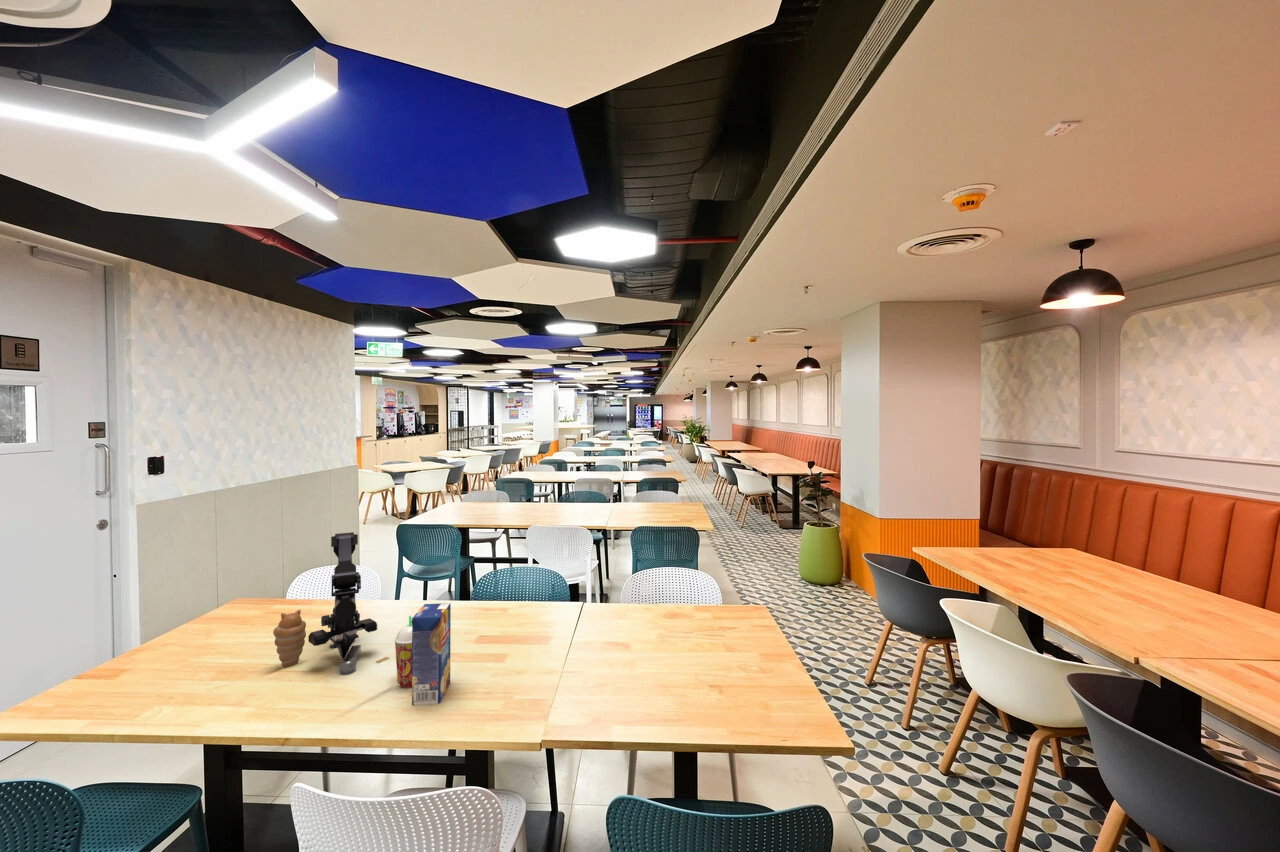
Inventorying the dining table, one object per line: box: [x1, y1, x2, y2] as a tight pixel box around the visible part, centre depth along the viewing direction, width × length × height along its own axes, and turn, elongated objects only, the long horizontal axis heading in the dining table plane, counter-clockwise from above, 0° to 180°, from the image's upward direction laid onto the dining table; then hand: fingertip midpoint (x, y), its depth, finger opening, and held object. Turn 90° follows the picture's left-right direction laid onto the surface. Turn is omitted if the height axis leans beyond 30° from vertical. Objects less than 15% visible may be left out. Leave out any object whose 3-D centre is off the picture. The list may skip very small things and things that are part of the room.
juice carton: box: [411, 602, 452, 706], centre depth 150 cm, size 12×8×24 cm, turn 7°
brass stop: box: [374, 656, 391, 664], centre depth 169 cm, size 2×4×1 cm, turn 155°
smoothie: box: [394, 615, 412, 689], centre depth 156 cm, size 8×8×20 cm
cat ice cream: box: [272, 609, 307, 669], centre depth 167 cm, size 9×8×18 cm
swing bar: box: [339, 644, 362, 676], centre depth 165 cm, size 14×4×3 cm, turn 17°
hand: (343, 658), depth 167 cm, fingers closed
